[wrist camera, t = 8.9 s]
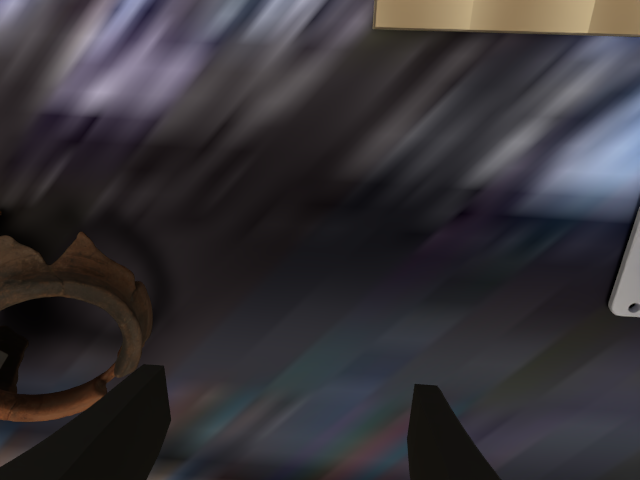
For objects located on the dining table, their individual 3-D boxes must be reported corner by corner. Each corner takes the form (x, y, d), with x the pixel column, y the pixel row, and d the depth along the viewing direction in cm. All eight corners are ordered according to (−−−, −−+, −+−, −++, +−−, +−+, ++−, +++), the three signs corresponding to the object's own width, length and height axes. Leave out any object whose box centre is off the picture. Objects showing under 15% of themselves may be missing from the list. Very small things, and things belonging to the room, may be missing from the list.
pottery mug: (7, 147, 22) (-16, 221, 15) (174, 236, 28) (208, 317, 21) (-128, 336, 23) (-201, 477, 17) (60, 383, 29) (59, 501, 23)
